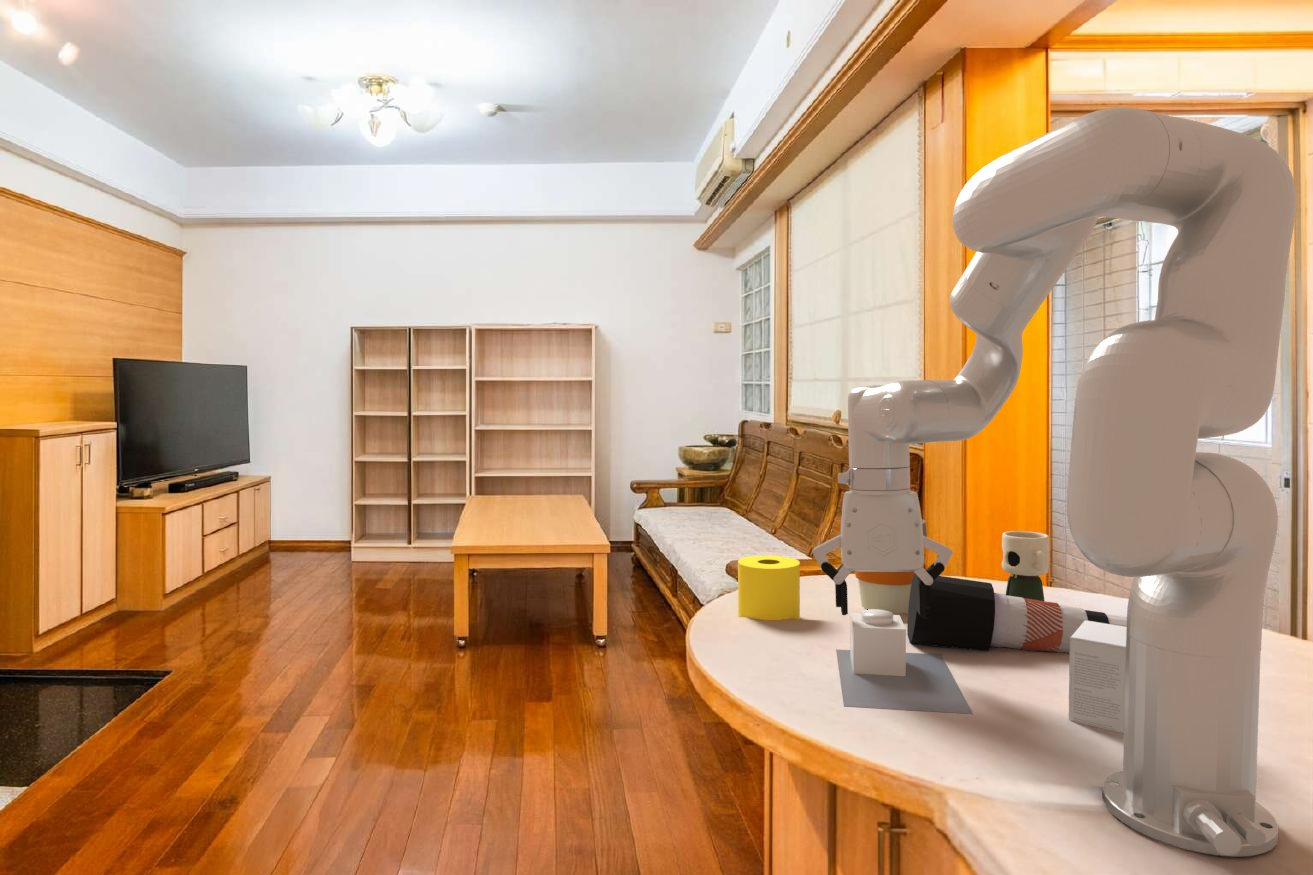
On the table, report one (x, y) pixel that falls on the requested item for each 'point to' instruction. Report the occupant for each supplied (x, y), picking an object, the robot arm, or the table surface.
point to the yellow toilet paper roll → (769, 587)
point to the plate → (904, 686)
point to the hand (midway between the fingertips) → (882, 613)
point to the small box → (1097, 675)
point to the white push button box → (877, 643)
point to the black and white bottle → (994, 619)
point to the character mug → (1025, 563)
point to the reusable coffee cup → (886, 588)
